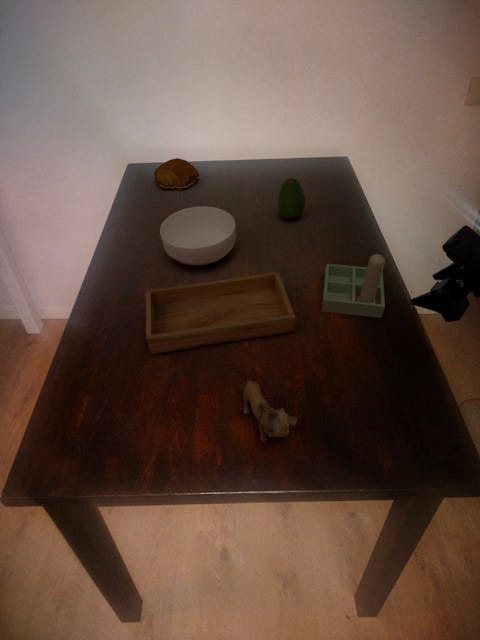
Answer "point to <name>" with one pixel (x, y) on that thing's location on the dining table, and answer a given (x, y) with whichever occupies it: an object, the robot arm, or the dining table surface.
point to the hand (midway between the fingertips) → (423, 289)
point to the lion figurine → (266, 413)
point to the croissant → (175, 174)
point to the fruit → (291, 199)
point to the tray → (217, 312)
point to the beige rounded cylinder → (372, 279)
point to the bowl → (198, 235)
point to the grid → (349, 292)
